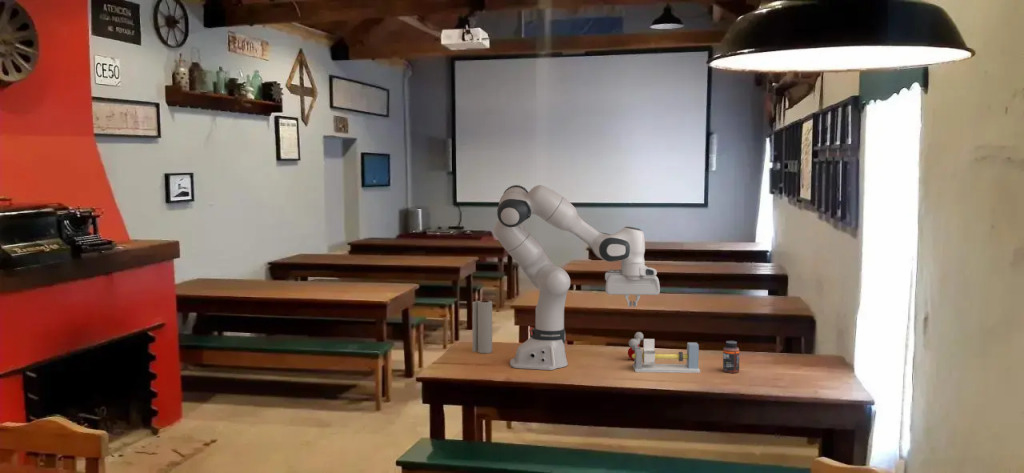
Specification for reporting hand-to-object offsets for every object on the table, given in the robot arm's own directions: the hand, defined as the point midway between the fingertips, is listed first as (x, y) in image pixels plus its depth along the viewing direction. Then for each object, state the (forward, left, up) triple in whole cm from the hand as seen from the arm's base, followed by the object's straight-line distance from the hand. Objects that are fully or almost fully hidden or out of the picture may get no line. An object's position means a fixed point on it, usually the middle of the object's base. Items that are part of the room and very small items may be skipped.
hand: (632, 306), depth 298 cm
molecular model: (+3, +15, -24) cm, 29 cm away
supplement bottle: (+37, -2, -24) cm, 44 cm away
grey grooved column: (-58, +26, -24) cm, 68 cm away
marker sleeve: (+7, 0, -22) cm, 23 cm away
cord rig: (+13, 0, -24) cm, 27 cm away
